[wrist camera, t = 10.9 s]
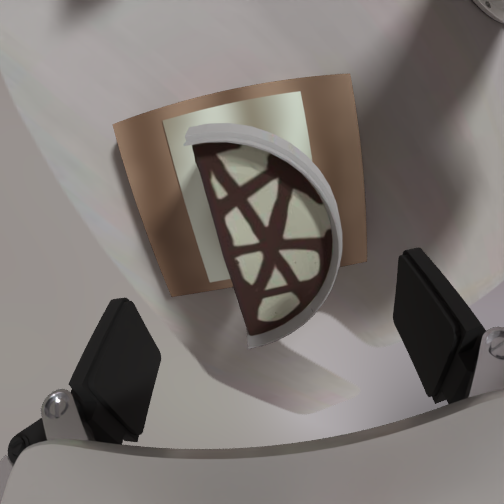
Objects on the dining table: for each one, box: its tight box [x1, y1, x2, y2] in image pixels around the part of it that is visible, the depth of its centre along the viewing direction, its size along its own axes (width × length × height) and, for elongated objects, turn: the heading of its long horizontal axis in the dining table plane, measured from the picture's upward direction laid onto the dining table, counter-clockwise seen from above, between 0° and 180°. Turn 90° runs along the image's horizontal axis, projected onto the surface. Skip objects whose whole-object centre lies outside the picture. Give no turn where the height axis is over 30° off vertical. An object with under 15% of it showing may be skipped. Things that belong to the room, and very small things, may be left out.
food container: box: [183, 123, 342, 349], centre depth 18 cm, size 12×6×10 cm, turn 13°
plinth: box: [113, 74, 367, 297], centre depth 24 cm, size 18×16×3 cm
